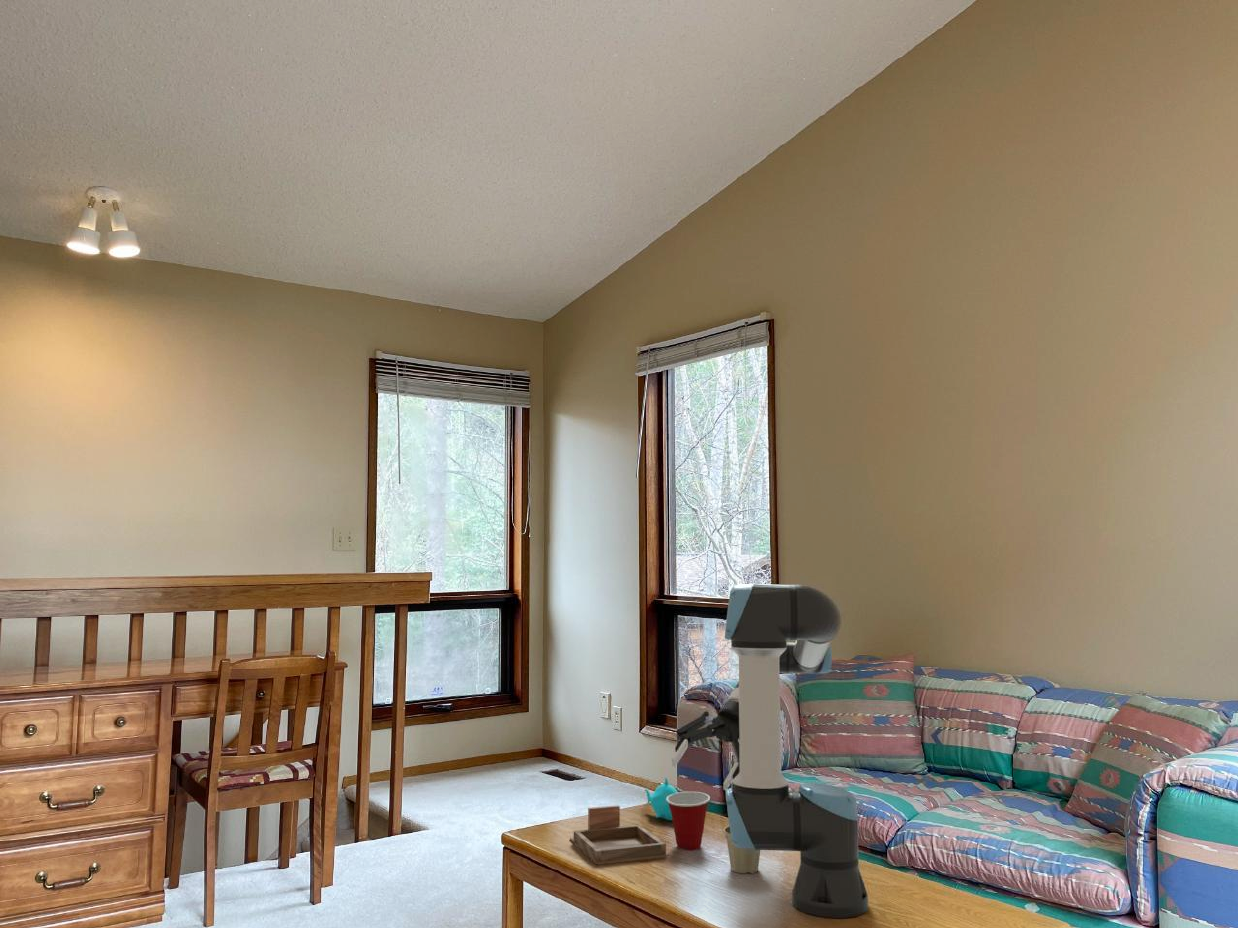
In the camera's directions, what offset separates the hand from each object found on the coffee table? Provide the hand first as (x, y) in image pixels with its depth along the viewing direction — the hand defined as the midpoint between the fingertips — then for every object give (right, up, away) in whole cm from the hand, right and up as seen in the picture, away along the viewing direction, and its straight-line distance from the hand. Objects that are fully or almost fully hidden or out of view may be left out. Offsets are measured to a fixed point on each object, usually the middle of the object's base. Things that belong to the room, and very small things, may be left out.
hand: (698, 774), depth 225 cm
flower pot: (+10, -19, -7) cm, 23 cm away
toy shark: (-6, -24, +36) cm, 43 cm away
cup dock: (-19, -20, +8) cm, 29 cm away
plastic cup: (-2, -21, +10) cm, 23 cm away
